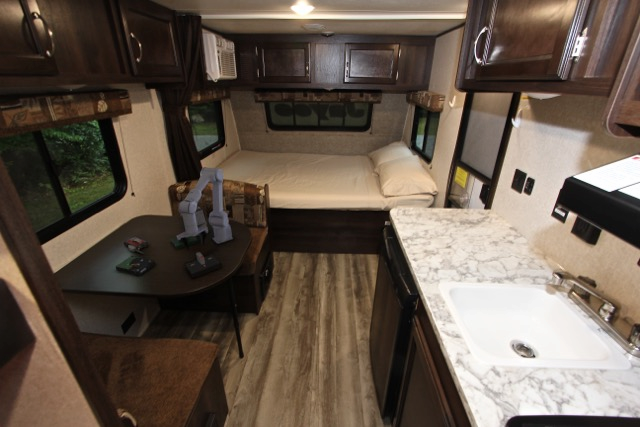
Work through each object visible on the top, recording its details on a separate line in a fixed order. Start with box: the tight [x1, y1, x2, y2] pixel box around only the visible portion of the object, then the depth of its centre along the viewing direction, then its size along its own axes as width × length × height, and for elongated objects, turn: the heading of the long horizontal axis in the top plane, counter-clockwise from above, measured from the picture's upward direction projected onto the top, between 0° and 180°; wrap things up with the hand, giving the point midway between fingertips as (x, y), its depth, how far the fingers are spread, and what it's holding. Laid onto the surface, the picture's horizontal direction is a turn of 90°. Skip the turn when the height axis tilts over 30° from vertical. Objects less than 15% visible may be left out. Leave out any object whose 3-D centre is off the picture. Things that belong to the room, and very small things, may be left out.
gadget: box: [184, 254, 222, 279], centre depth 148 cm, size 14×12×3 cm
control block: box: [170, 236, 199, 250], centre depth 170 cm, size 12×10×4 cm
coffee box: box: [195, 204, 209, 237], centre depth 179 cm, size 9×6×16 cm
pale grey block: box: [195, 251, 205, 265], centre depth 147 cm, size 6×2×4 cm, turn 40°
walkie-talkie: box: [123, 236, 149, 255], centre depth 163 cm, size 9×4×20 cm
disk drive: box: [114, 255, 156, 277], centre depth 147 cm, size 10×3×15 cm
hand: (195, 247), depth 151 cm, fingers open, 7 cm apart
